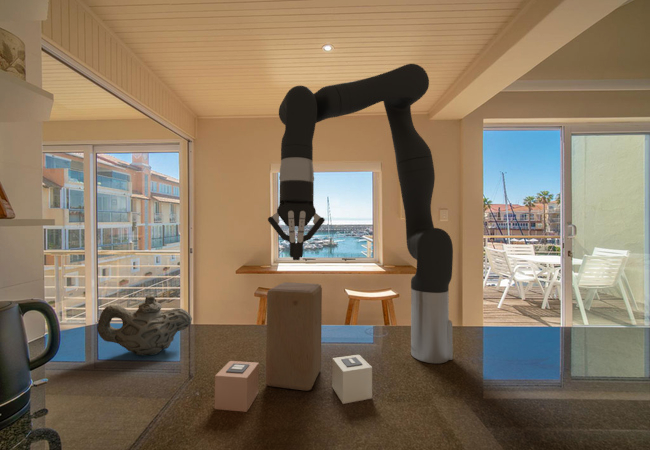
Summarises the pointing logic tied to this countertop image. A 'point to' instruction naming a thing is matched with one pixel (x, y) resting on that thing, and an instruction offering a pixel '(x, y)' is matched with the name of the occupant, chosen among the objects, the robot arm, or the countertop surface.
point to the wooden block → (293, 335)
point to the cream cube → (351, 378)
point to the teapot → (143, 326)
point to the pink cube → (236, 386)
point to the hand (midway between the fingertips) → (296, 259)
